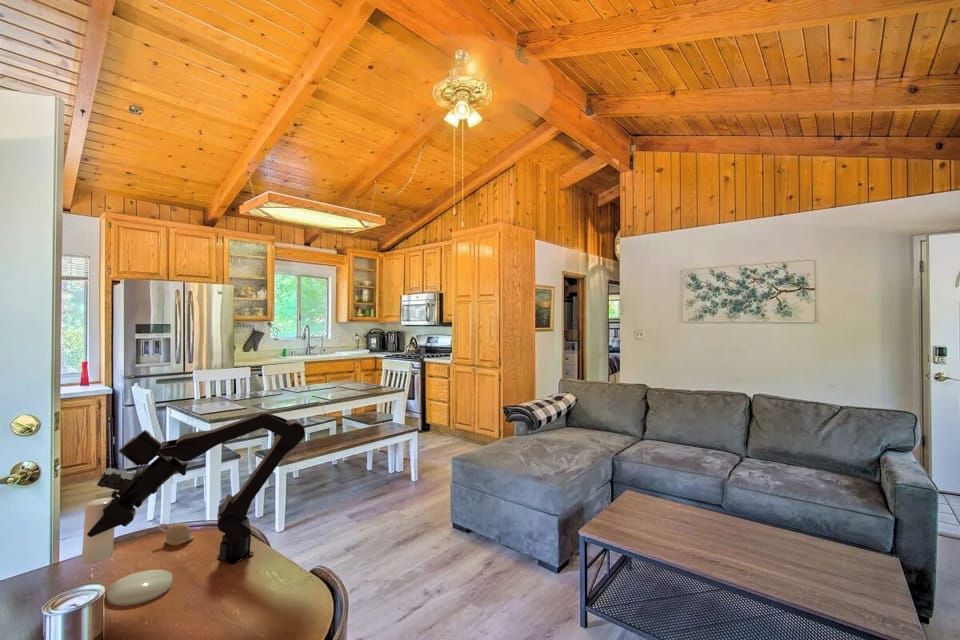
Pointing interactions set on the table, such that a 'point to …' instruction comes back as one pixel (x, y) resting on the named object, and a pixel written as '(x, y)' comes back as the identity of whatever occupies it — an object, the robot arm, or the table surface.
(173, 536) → the decorative ornament
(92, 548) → the tall beige pillar
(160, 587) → the sage dish
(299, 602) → the table surface
